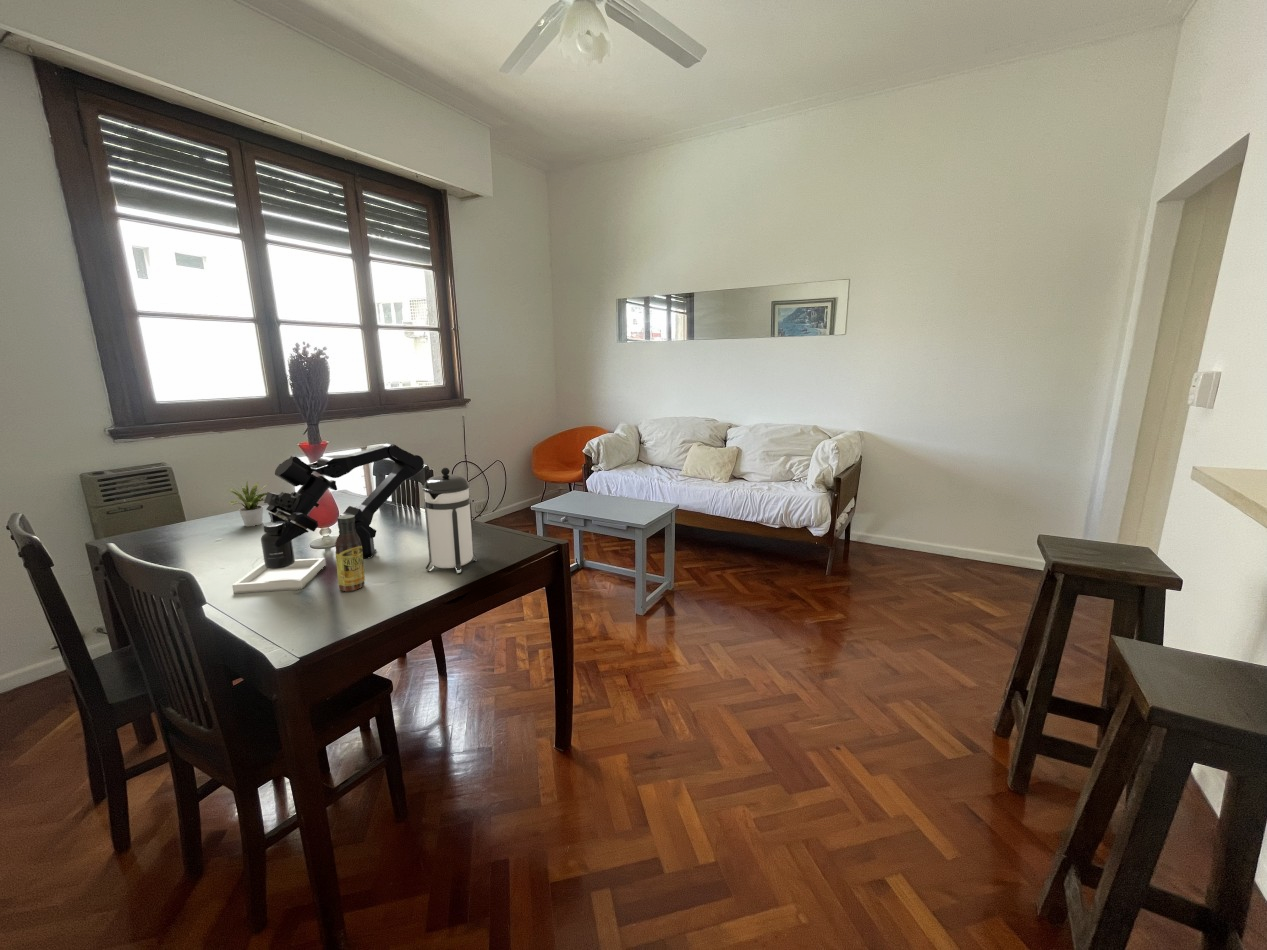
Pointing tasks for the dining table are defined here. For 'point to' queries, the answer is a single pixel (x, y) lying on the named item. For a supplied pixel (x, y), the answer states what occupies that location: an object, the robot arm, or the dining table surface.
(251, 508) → the house plant
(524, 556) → the dining table surface
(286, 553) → the supplement bottle
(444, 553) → the coffee press
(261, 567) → the tray
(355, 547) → the sauce bottle
